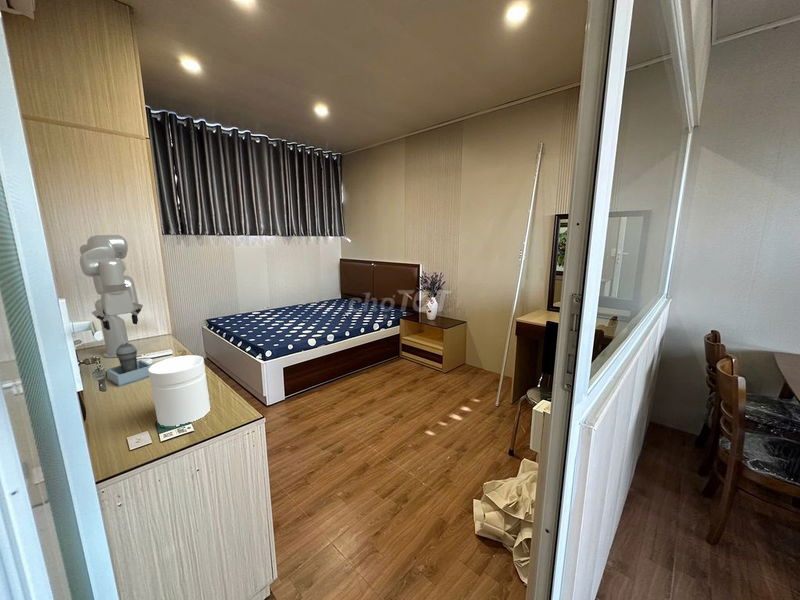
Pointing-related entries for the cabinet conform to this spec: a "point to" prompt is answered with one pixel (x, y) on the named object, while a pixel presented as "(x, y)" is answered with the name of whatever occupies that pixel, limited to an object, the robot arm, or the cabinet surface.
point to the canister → (179, 390)
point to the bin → (128, 374)
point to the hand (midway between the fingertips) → (121, 326)
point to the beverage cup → (127, 356)
